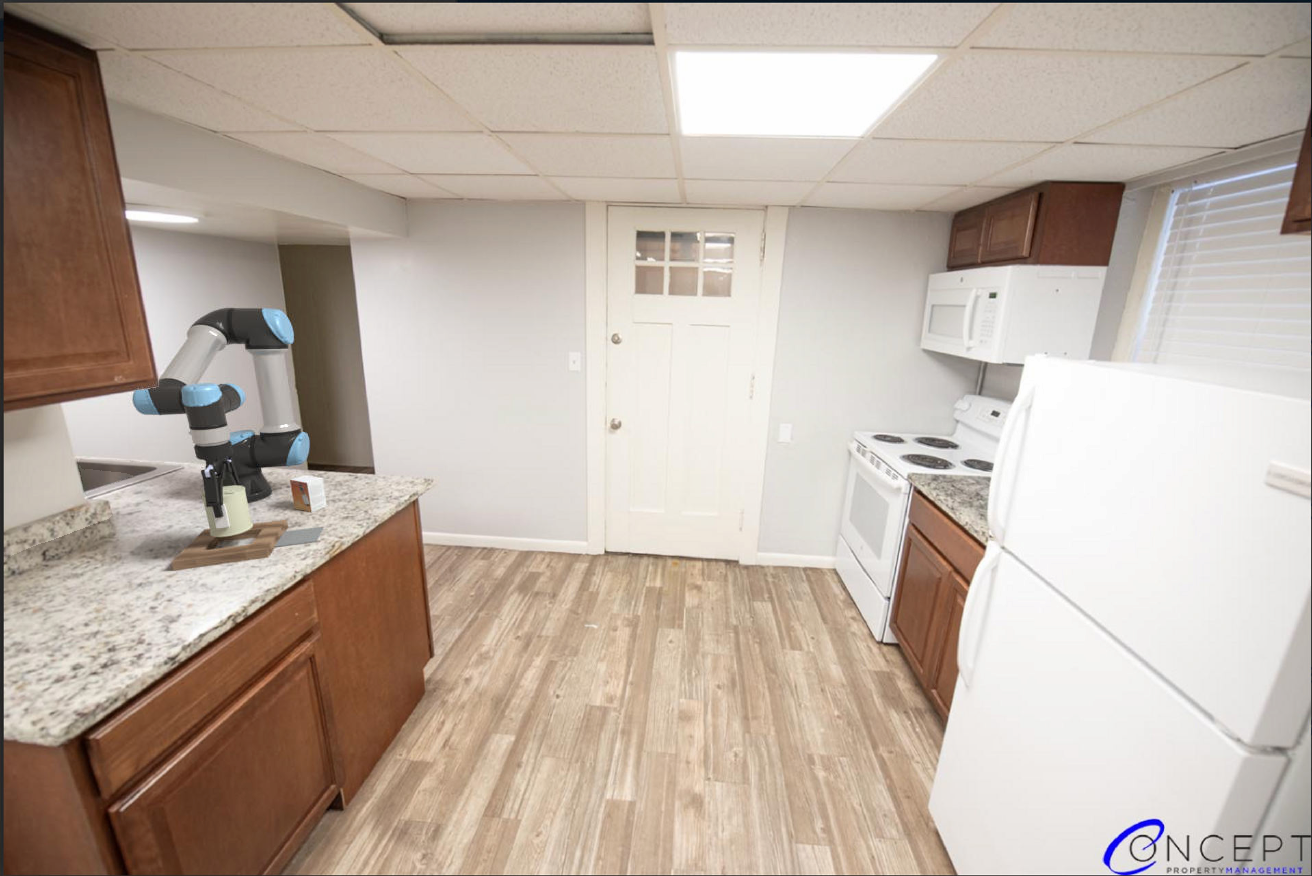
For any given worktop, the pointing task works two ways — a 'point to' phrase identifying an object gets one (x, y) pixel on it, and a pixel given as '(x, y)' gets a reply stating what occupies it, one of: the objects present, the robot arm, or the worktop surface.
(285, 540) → the mat
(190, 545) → the housing
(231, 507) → the can
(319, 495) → the small box
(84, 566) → the worktop surface
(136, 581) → the worktop surface
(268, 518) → the worktop surface
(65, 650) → the worktop surface
